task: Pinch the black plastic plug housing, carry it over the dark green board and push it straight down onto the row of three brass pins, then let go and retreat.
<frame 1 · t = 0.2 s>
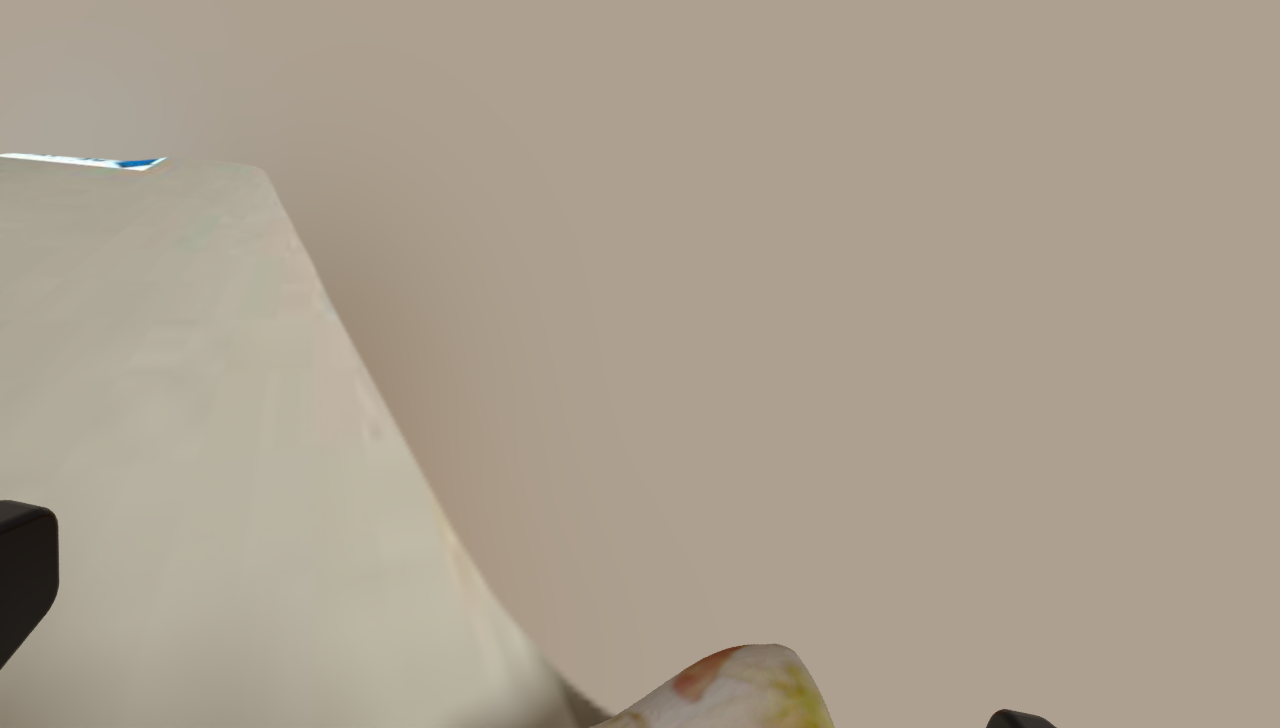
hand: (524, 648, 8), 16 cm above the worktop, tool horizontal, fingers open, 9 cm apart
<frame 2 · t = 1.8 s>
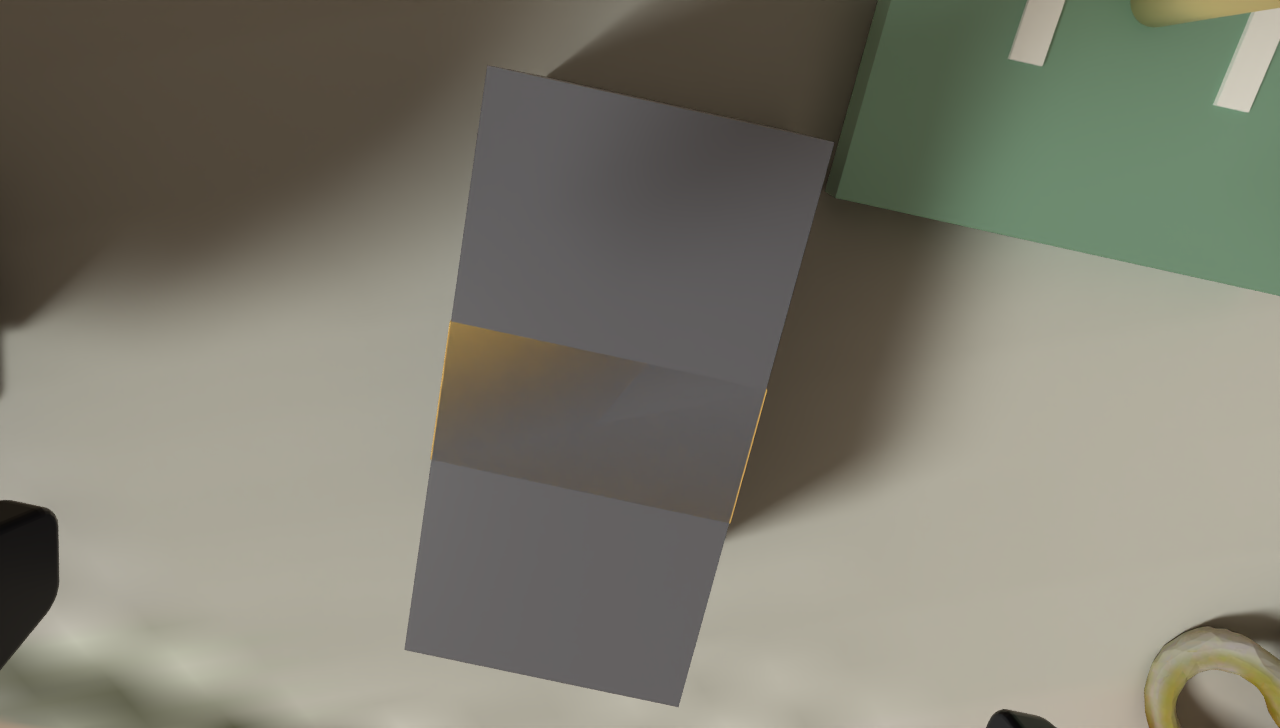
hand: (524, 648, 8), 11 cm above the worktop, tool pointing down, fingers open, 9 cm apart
plug housing: (618, 339, 18), on the worktop
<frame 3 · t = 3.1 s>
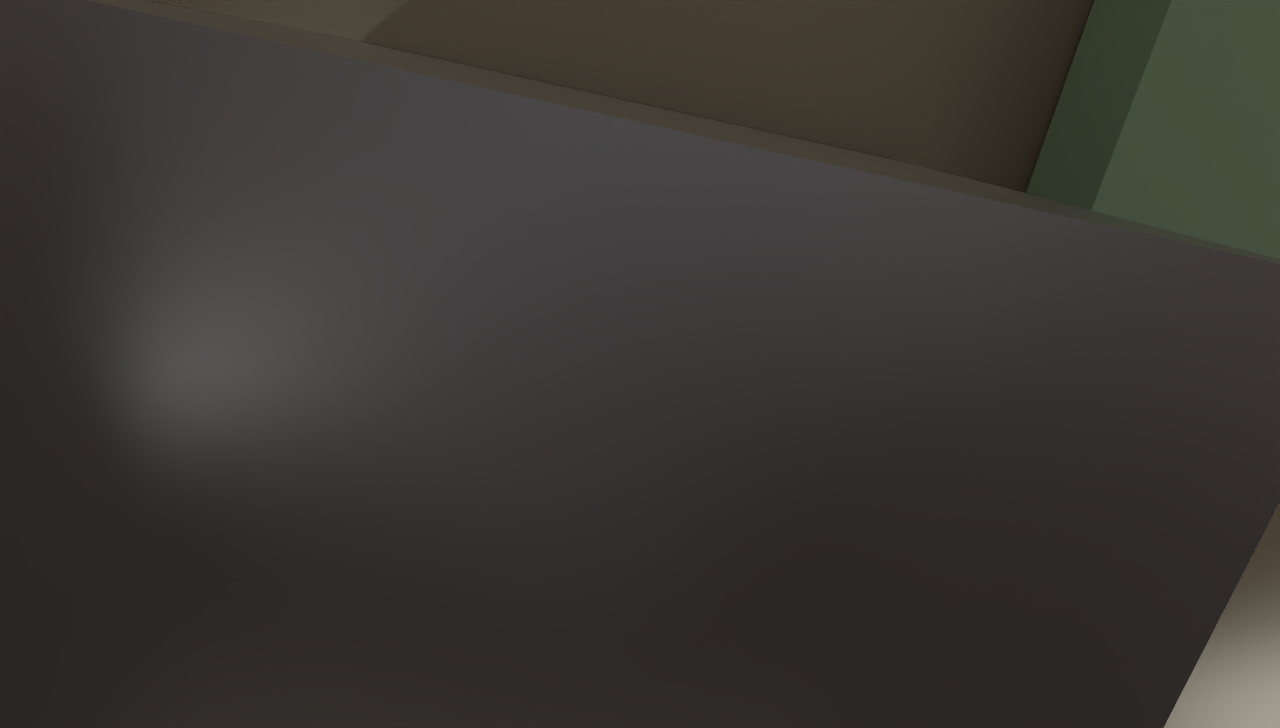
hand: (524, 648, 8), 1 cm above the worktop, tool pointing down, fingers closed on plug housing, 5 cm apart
plug housing: (541, 586, 9), on the worktop, touching gripper
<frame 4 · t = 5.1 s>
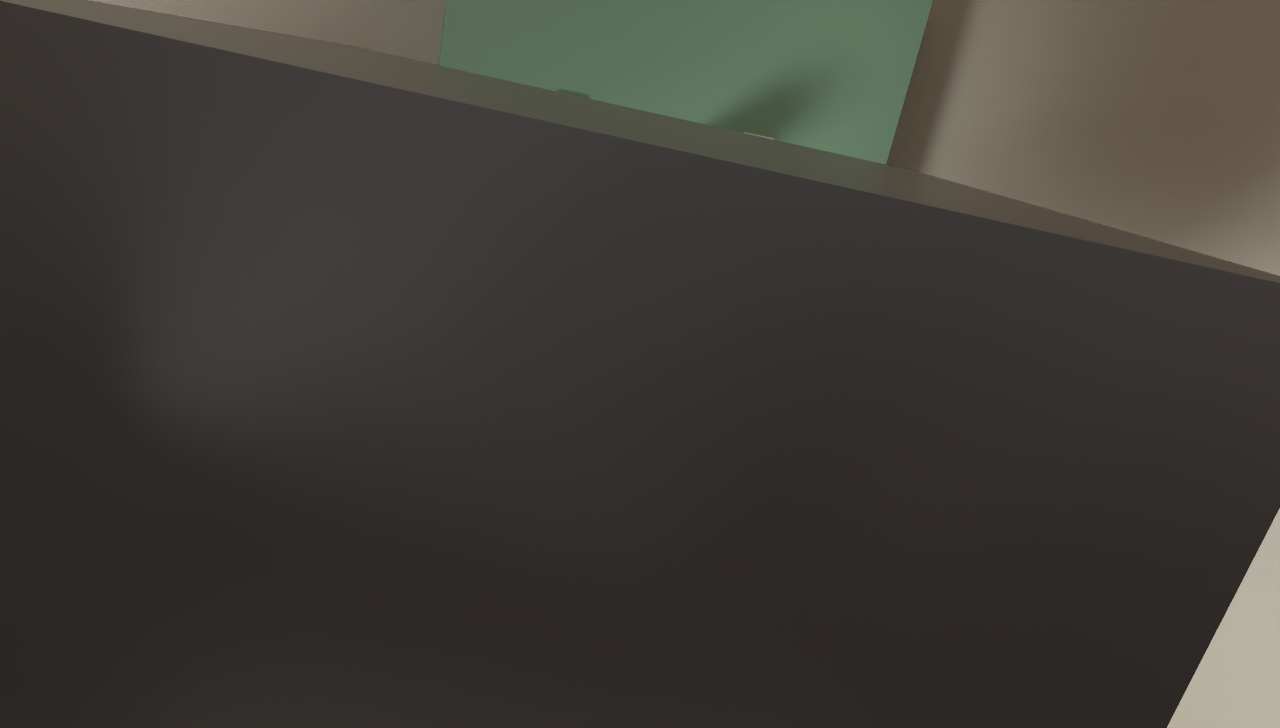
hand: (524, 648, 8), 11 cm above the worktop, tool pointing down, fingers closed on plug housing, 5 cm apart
plug housing: (539, 591, 9), point 10 cm above the worktop, touching gripper
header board: (628, 296, 18), on the worktop
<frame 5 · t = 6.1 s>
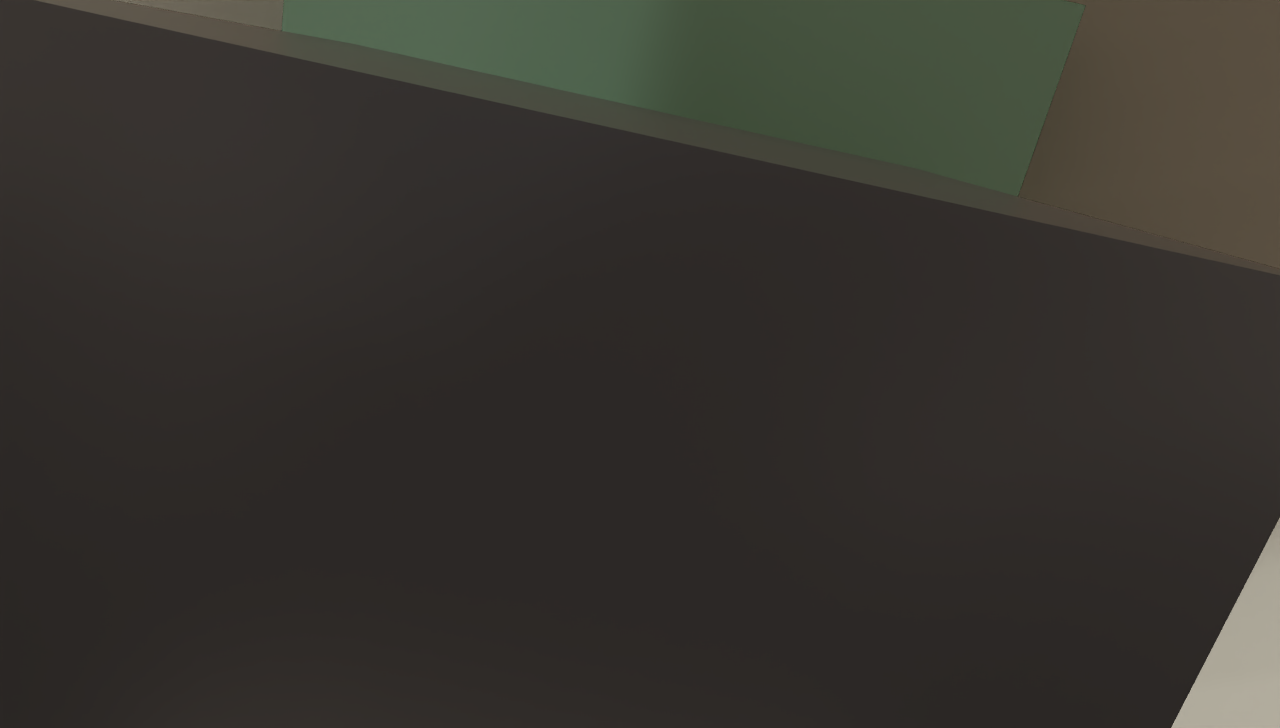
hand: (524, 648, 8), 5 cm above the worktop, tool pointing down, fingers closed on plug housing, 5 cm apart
plug housing: (540, 590, 9), point 4 cm above the worktop, touching gripper
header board: (587, 439, 12), on the worktop
when the fingers open (3 cm above the worktop, at t = 6.9 s): plug housing stays where it is, resting on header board.
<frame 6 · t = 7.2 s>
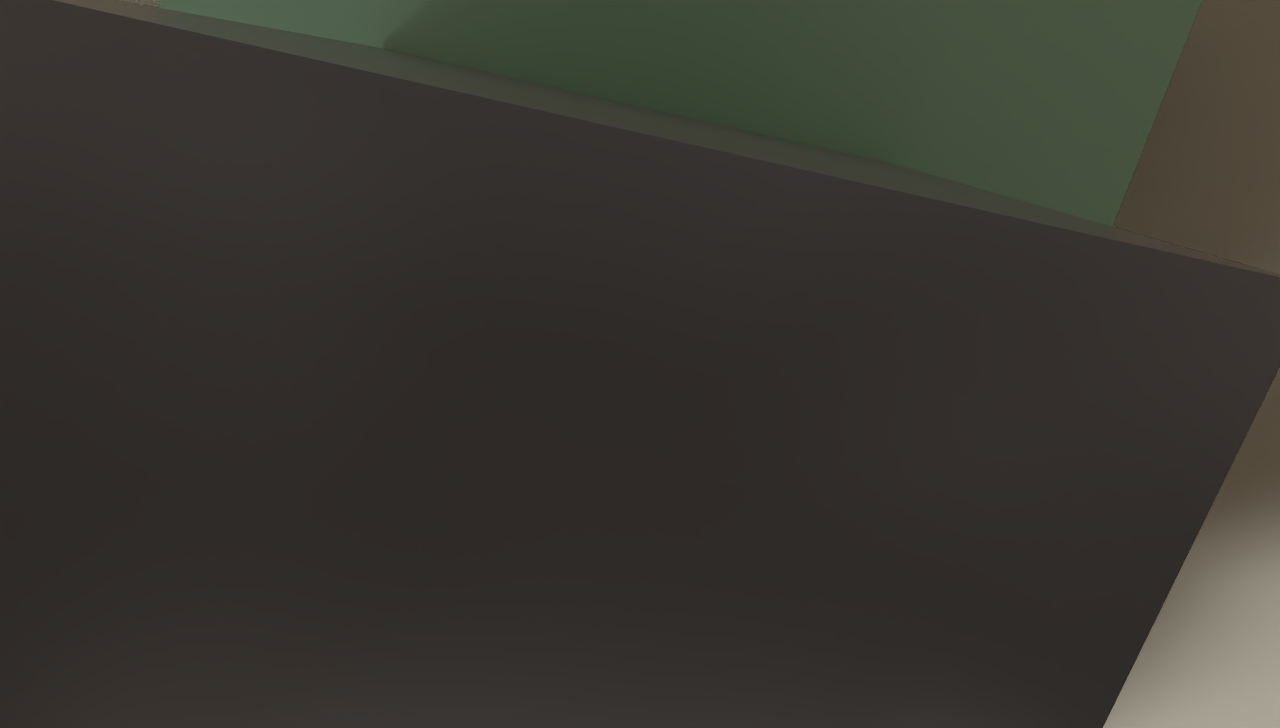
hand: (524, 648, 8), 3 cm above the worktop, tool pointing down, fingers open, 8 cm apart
plug housing: (544, 575, 9), point 1 cm above the worktop, touching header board
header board: (564, 514, 10), on the worktop
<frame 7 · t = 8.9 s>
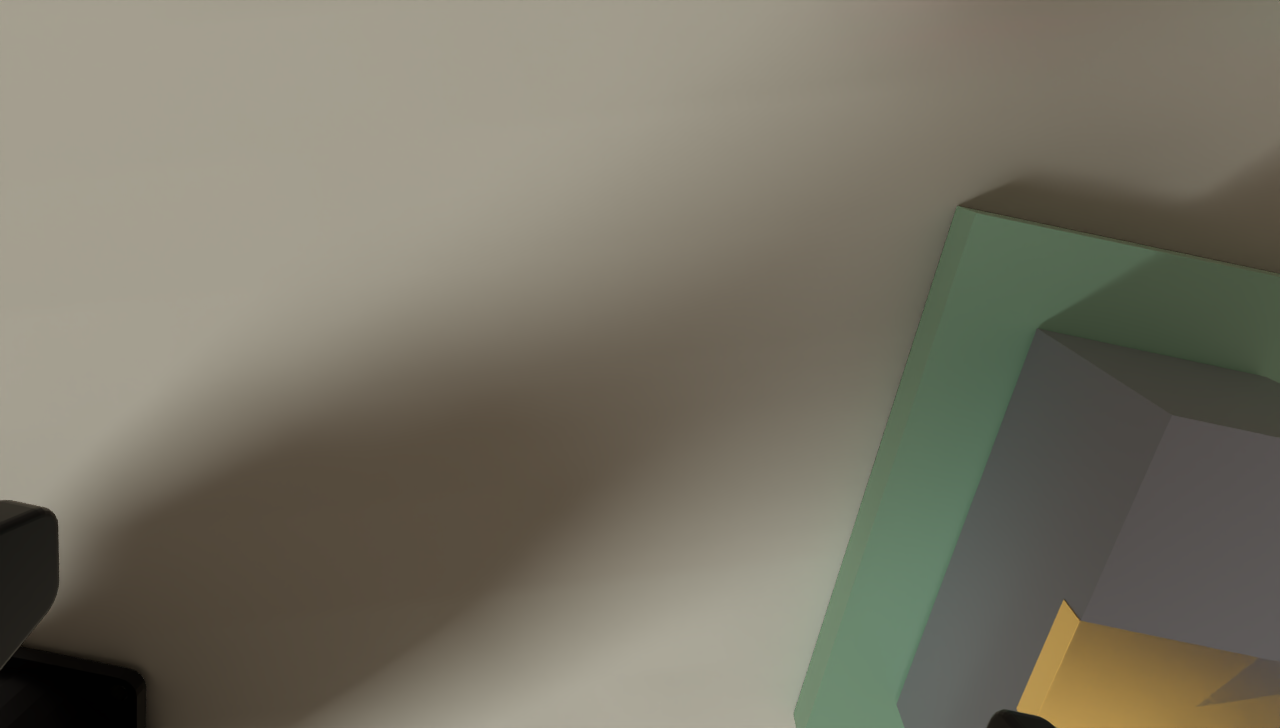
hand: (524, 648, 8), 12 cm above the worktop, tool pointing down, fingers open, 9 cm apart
plug housing: (1065, 553, 19), point 1 cm above the worktop, touching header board
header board: (1044, 524, 20), on the worktop
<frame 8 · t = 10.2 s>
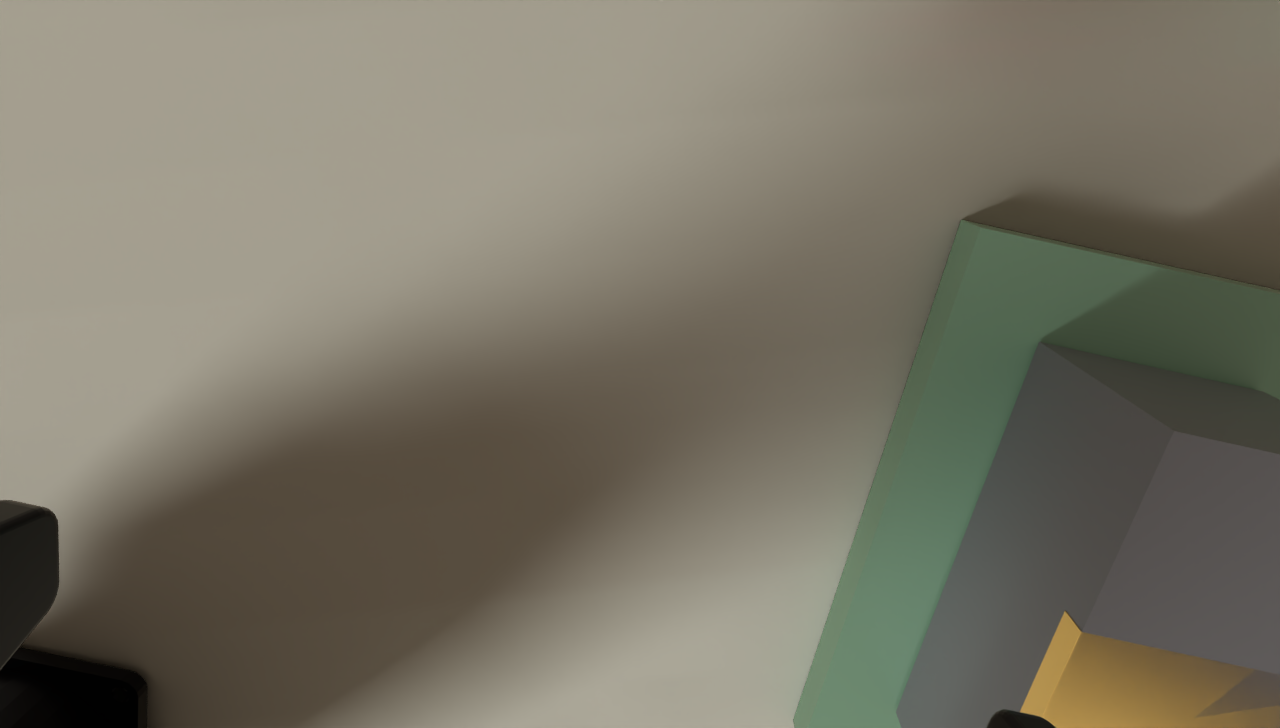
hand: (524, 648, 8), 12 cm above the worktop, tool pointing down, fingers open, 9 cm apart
plug housing: (1064, 564, 19), point 1 cm above the worktop, touching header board
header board: (1043, 534, 20), on the worktop
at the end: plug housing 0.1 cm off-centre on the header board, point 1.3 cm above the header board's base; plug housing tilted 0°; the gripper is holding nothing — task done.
